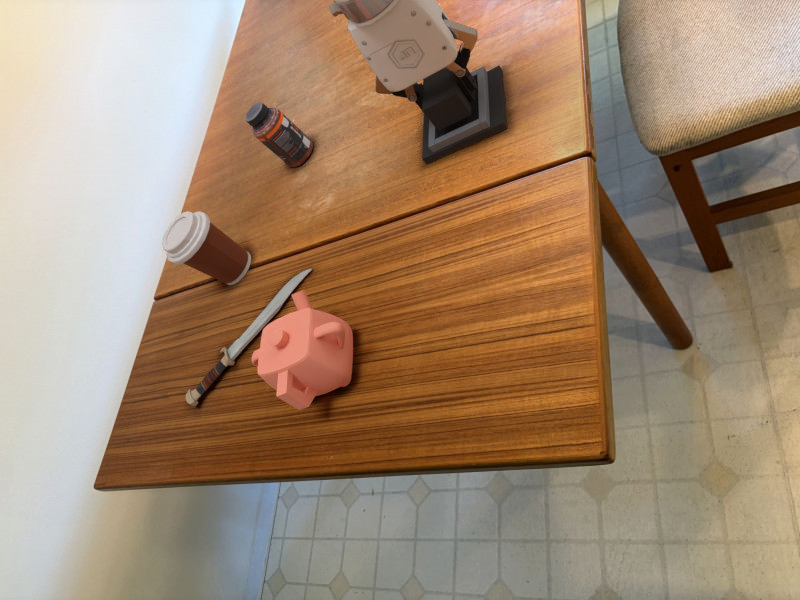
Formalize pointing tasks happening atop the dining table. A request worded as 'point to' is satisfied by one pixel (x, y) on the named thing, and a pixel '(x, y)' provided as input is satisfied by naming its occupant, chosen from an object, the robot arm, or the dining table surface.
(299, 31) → the dining table surface
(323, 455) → the dining table surface
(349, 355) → the teapot
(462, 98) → the black block
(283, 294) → the knife
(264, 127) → the supplement bottle
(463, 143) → the base pad
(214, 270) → the coffee cup
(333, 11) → the robot arm
